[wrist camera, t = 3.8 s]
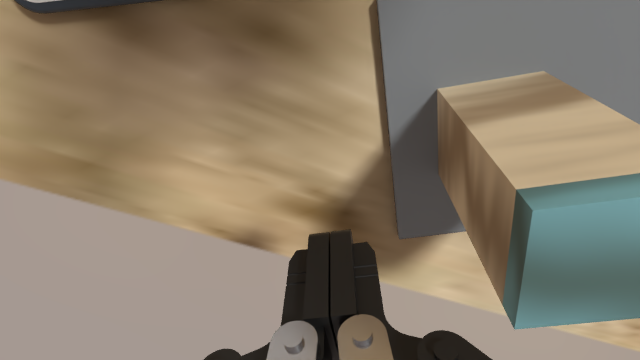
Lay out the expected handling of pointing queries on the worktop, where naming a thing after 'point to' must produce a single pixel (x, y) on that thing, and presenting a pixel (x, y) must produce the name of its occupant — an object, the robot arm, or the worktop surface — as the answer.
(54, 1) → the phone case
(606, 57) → the slate mat
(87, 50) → the worktop surface
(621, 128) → the maple block
